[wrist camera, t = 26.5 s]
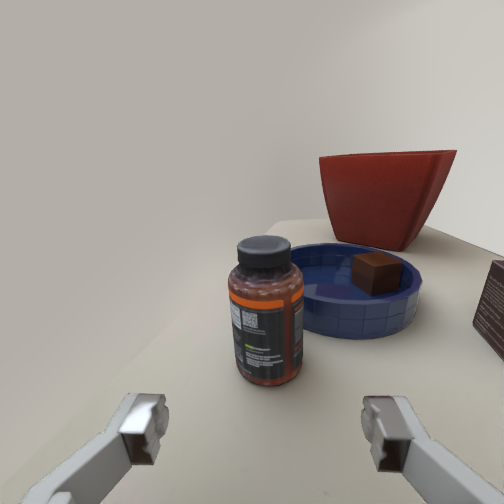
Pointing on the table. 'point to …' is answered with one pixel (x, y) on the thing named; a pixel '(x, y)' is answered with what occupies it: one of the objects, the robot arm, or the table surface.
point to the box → (492, 308)
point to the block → (376, 272)
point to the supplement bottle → (267, 311)
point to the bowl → (351, 294)
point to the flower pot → (383, 194)
